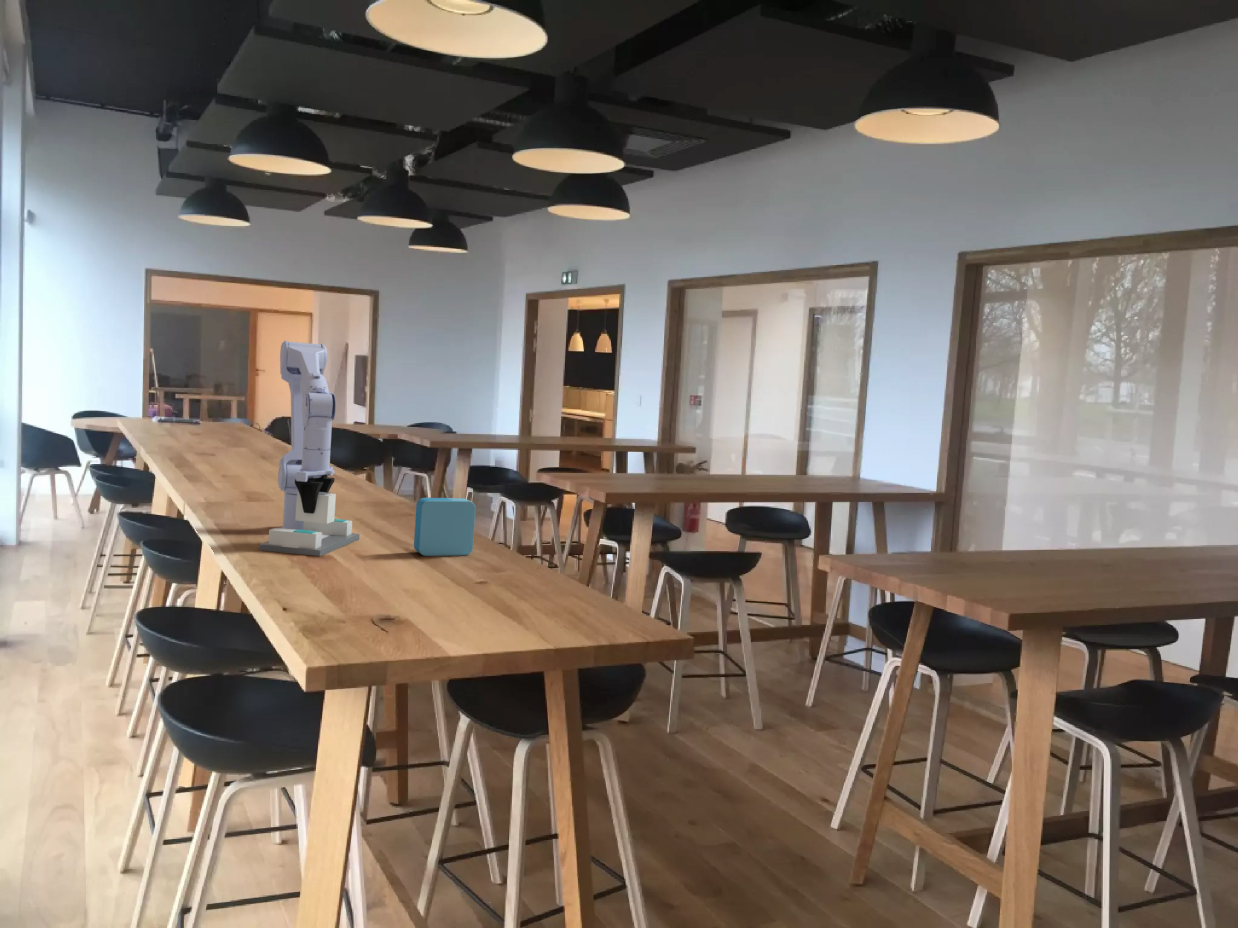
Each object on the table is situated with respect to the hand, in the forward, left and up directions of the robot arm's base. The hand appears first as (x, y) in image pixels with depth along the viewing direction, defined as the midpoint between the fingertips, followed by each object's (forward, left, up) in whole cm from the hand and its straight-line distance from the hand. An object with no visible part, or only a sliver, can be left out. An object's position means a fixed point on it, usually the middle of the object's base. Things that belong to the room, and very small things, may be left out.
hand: (313, 511), depth 207 cm
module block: (0, 0, -2) cm, 2 cm away
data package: (-4, +28, -7) cm, 29 cm away
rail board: (0, 0, -7) cm, 7 cm away
